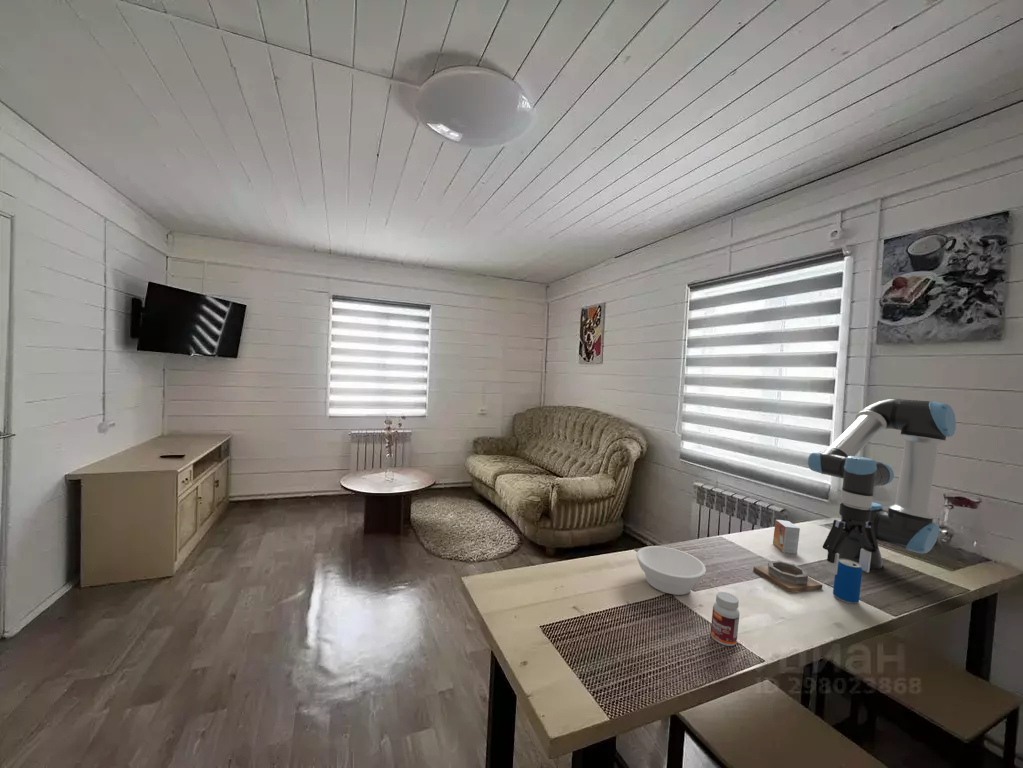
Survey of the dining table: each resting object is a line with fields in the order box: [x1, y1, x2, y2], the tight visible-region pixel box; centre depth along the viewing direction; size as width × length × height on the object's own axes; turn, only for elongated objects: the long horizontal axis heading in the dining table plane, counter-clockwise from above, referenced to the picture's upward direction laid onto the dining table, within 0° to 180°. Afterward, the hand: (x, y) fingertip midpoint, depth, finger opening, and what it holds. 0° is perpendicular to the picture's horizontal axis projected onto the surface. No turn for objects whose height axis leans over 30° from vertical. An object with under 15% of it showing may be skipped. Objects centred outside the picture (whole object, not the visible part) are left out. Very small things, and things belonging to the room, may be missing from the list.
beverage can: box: [832, 559, 863, 605], centre depth 130 cm, size 6×6×12 cm
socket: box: [753, 559, 823, 593], centre depth 141 cm, size 14×14×4 cm
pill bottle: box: [710, 591, 740, 647], centre depth 106 cm, size 6×6×11 cm
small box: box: [772, 519, 801, 555], centre depth 167 cm, size 8×6×10 cm
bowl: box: [636, 545, 707, 596], centre depth 132 cm, size 21×21×8 cm
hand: (847, 571), depth 130 cm, fingers open, 13 cm apart
